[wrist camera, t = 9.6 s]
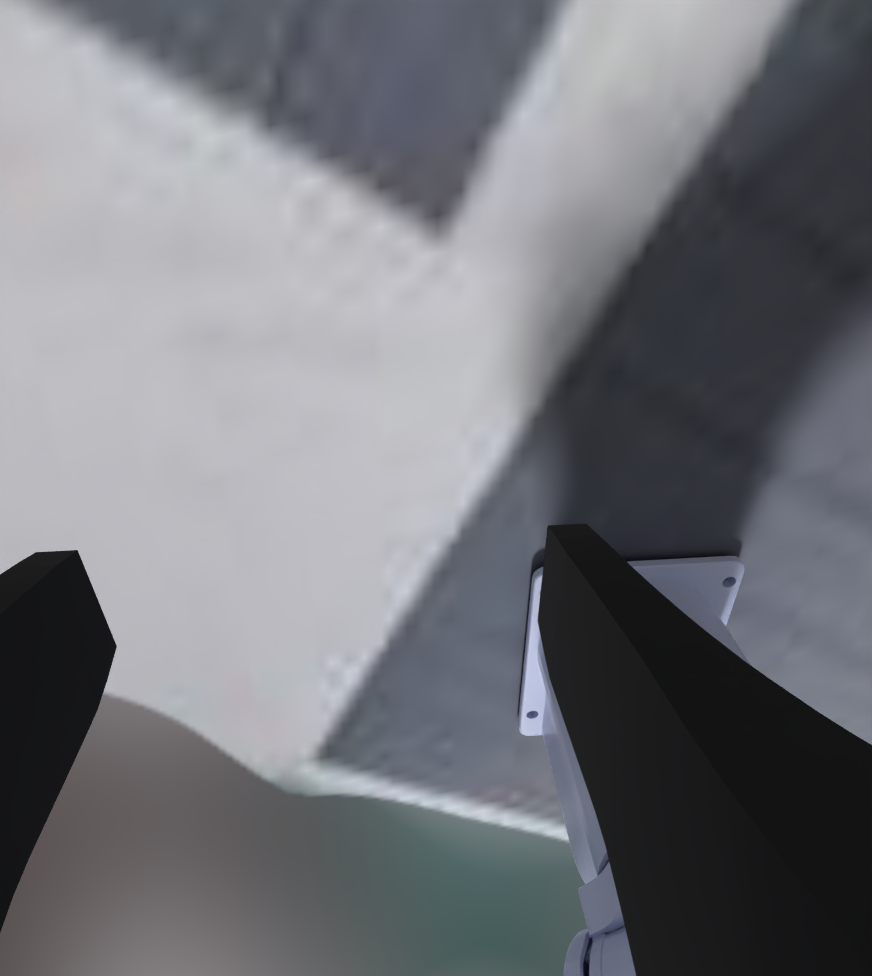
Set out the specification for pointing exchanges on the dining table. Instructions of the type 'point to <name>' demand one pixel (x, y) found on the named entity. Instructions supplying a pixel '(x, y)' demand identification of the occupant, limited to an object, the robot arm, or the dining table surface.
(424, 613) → the dining table surface
